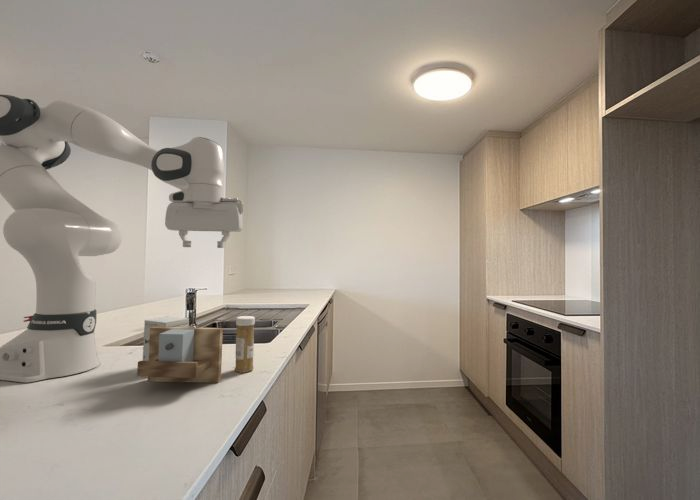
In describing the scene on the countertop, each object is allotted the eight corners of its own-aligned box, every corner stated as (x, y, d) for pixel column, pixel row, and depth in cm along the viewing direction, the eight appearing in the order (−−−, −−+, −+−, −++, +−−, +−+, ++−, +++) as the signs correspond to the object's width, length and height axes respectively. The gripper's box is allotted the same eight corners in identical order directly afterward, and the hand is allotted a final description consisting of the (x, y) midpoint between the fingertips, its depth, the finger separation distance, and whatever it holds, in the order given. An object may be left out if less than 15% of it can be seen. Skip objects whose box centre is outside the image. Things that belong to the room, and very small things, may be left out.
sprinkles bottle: (255, 371, 82) (257, 317, 83) (237, 374, 80) (238, 318, 80) (250, 366, 86) (251, 314, 86) (232, 369, 83) (234, 316, 84)
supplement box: (140, 371, 81) (143, 319, 81) (166, 362, 87) (168, 315, 88) (163, 375, 78) (165, 322, 78) (188, 366, 85) (190, 317, 85)
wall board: (126, 393, 67) (129, 334, 67) (151, 378, 75) (153, 326, 76) (204, 395, 67) (206, 336, 67) (220, 380, 76) (222, 328, 76)
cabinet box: (155, 369, 67) (156, 334, 68) (170, 360, 73) (172, 329, 74) (179, 369, 68) (180, 335, 68) (193, 360, 74) (194, 329, 74)
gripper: (246, 200, 94) (245, 248, 93) (175, 199, 93) (173, 247, 93) (239, 196, 87) (237, 247, 87) (162, 194, 87) (160, 246, 87)
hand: (203, 247), depth 90 cm, fingers open, 8 cm apart
